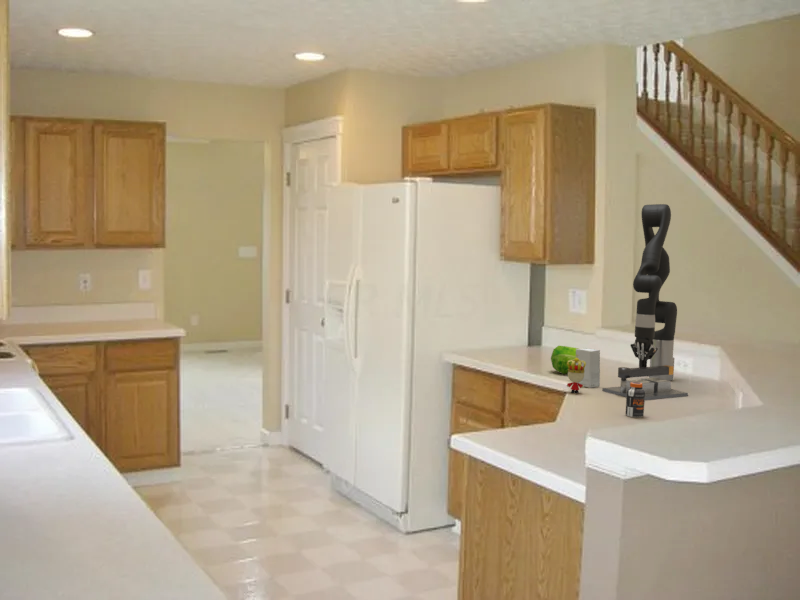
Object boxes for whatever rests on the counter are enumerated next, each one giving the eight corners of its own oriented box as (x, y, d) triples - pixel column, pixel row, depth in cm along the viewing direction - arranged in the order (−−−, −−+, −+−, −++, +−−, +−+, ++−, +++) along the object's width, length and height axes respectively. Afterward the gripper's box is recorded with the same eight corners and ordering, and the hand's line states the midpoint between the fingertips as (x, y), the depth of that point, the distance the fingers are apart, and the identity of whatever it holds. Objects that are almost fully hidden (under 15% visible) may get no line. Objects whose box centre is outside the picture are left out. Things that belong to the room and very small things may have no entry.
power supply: (636, 388, 345) (637, 377, 345) (653, 392, 337) (654, 381, 337) (623, 389, 341) (623, 379, 341) (640, 393, 334) (641, 383, 333)
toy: (585, 392, 340) (587, 353, 339) (583, 395, 333) (585, 355, 332) (567, 390, 342) (568, 352, 341) (564, 393, 336) (566, 354, 334)
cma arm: (665, 372, 349) (666, 363, 349) (674, 374, 345) (675, 365, 345) (615, 376, 336) (615, 367, 335) (623, 378, 332) (624, 369, 332)
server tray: (648, 386, 356) (649, 370, 356) (687, 396, 339) (688, 378, 338) (602, 391, 344) (603, 374, 343) (640, 400, 326) (641, 382, 326)
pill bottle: (632, 418, 295) (634, 384, 294) (621, 414, 300) (623, 381, 299) (647, 417, 297) (649, 383, 296) (636, 413, 303) (637, 380, 302)
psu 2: (653, 386, 350) (653, 376, 349) (670, 390, 342) (671, 380, 341) (640, 388, 346) (640, 377, 346) (657, 392, 338) (658, 381, 338)
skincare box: (599, 387, 352) (601, 350, 351) (589, 388, 349) (590, 350, 348) (584, 383, 359) (586, 347, 358) (573, 384, 356) (575, 348, 355)
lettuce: (598, 377, 375) (599, 349, 374) (550, 375, 378) (551, 347, 377) (596, 372, 388) (597, 345, 387) (549, 370, 391) (550, 343, 390)
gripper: (664, 327, 344) (661, 371, 345) (640, 323, 355) (637, 366, 357) (650, 327, 340) (647, 372, 342) (625, 324, 352) (623, 367, 353)
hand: (642, 369), depth 349 cm, fingers closed
